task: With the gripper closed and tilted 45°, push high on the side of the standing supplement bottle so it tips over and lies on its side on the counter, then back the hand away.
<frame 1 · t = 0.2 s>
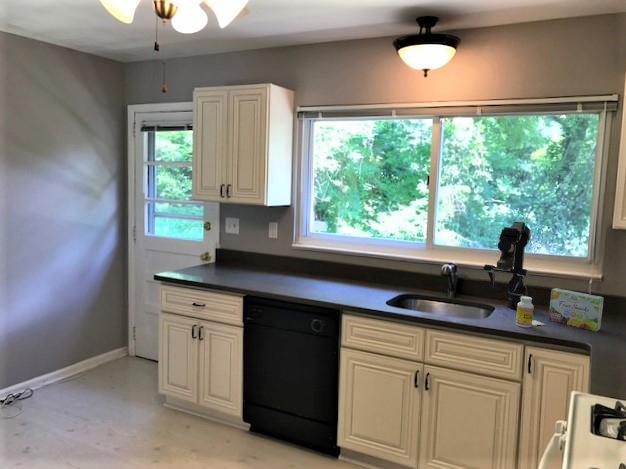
hand: (503, 289, 242), 15 cm above the worktop, tool pointing down, fingers open, 9 cm apart
cream tile: (534, 323, 245), on the worktop
supplement bottle: (523, 326, 241), on the worktop
snack box: (573, 325, 246), on the worktop
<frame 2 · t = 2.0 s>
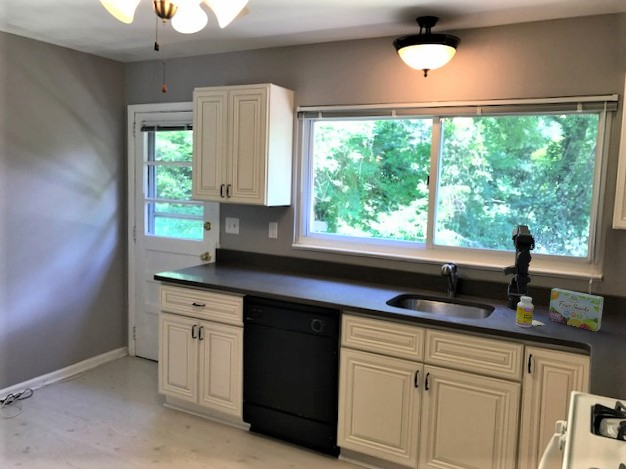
hand: (519, 293, 256), 11 cm above the worktop, tool pointing down, fingers closed
nothing on the worktop moved.
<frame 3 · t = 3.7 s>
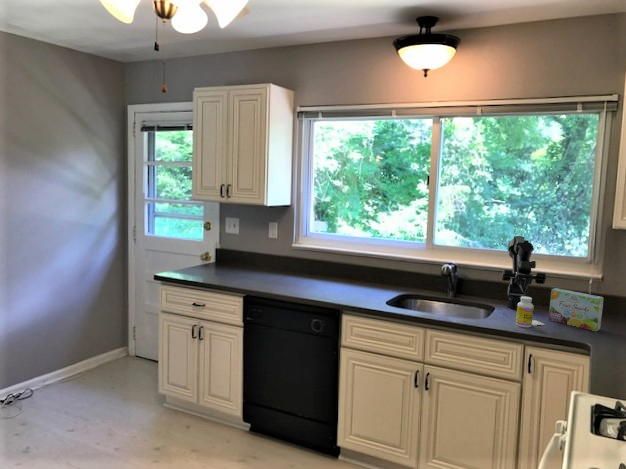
hand: (523, 292, 248), 13 cm above the worktop, tool tilted 45°, fingers closed
nothing on the worktop moved.
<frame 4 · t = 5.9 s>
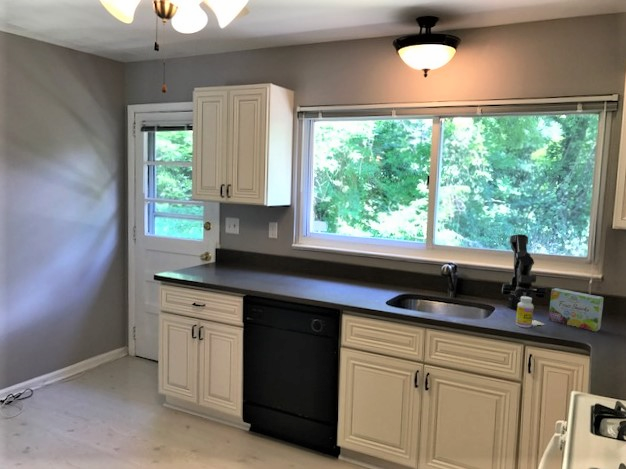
hand: (524, 306, 244), 8 cm above the worktop, tool tilted 45°, fingers closed, pressing on supplement bottle
supplement bottle: (523, 326, 241), on the worktop, touching gripper
everything else where it was.
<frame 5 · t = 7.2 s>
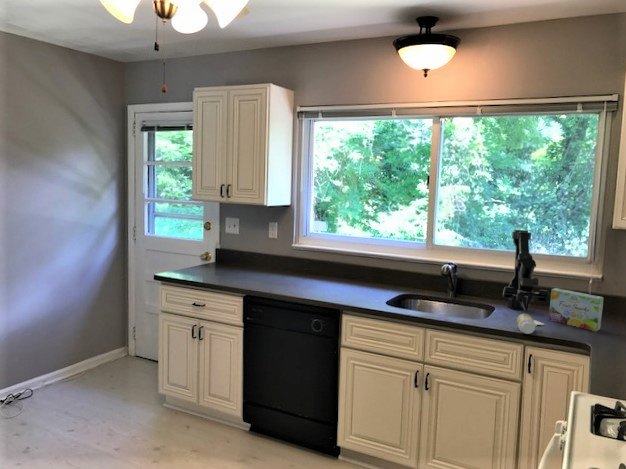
hand: (526, 310, 237), 8 cm above the worktop, tool tilted 45°, fingers closed
supplement bottle: (524, 320, 238), point 3 cm above the worktop
everything else where it was.
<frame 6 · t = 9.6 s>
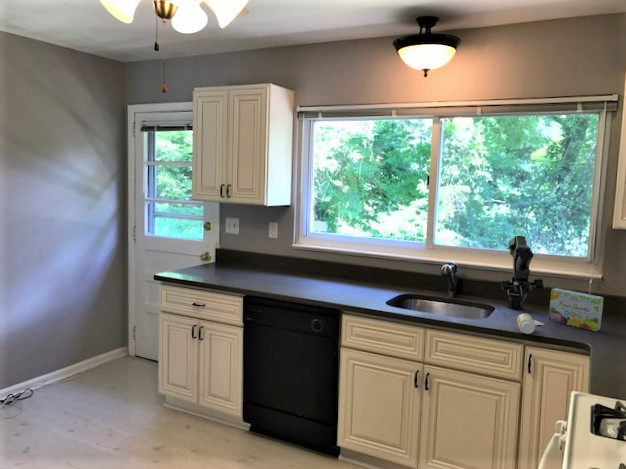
hand: (522, 301, 249), 9 cm above the worktop, tool tilted 35°, fingers closed
nothing on the worktop moved.
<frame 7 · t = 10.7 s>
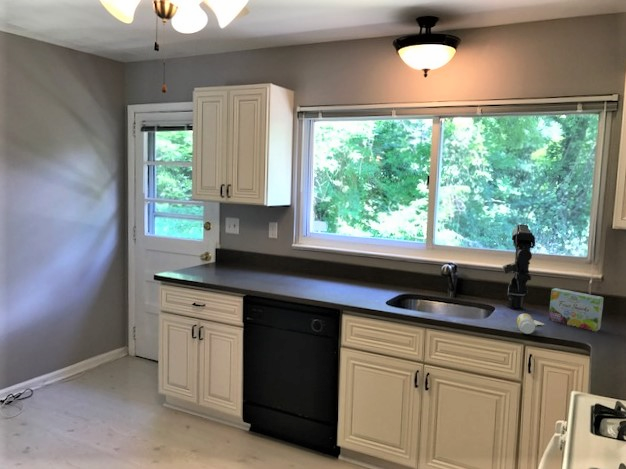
hand: (519, 291, 255), 12 cm above the worktop, tool pointing down, fingers closed
nothing on the worktop moved.
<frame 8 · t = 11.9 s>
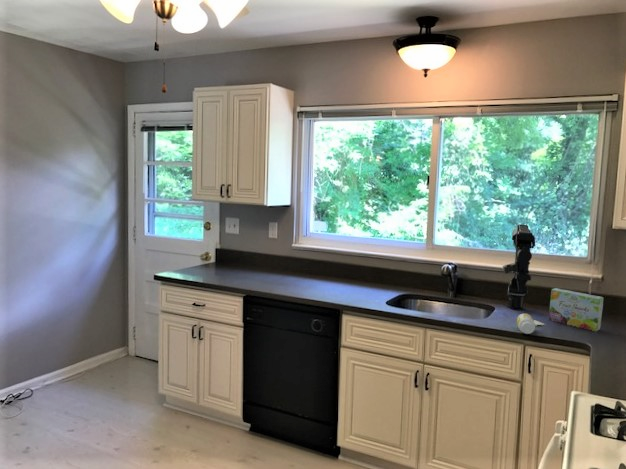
hand: (519, 291, 255), 12 cm above the worktop, tool pointing down, fingers closed
nothing on the worktop moved.
at the end: supplement bottle tilted 90°; supplement bottle inside the target area (1.3 cm from its centre), point 3.3 cm above the worktop; the gripper is holding nothing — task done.
